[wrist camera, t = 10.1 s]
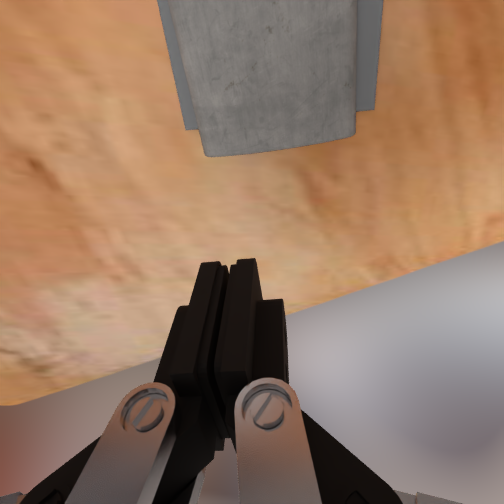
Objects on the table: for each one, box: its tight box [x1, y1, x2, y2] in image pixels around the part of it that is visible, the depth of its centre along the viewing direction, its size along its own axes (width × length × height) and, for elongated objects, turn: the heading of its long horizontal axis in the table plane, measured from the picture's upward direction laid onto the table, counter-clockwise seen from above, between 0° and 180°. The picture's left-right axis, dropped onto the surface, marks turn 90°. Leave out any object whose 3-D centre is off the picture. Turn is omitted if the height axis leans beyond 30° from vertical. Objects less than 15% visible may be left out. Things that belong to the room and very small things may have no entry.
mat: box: [157, 0, 383, 130], centre depth 32 cm, size 20×17×1 cm
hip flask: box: [168, 0, 357, 157], centre depth 30 cm, size 16×4×20 cm
